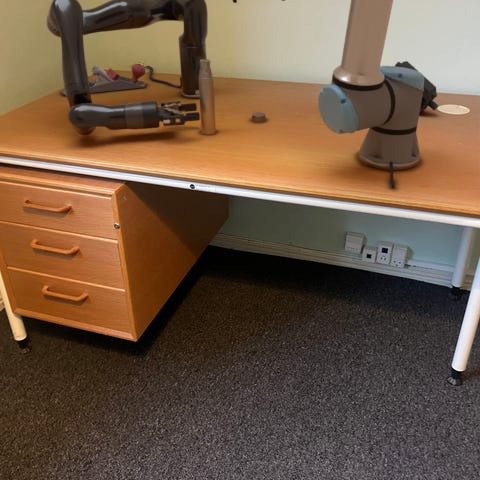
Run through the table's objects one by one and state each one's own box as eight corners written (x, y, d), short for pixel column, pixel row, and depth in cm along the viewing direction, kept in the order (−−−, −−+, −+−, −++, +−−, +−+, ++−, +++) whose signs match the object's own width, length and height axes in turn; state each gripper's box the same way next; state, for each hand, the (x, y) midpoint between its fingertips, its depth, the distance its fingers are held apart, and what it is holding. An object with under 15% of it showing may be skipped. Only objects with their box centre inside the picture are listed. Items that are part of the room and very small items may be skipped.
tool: (376, 92, 179) (403, 55, 168) (419, 129, 175) (449, 94, 164) (367, 96, 175) (394, 59, 164) (411, 135, 171) (441, 99, 160)
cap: (249, 120, 166) (249, 114, 165) (257, 117, 169) (257, 111, 168) (259, 123, 164) (259, 117, 163) (268, 119, 167) (268, 113, 165)
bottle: (210, 128, 161) (206, 57, 150) (218, 132, 158) (215, 60, 147) (198, 131, 159) (194, 60, 148) (207, 135, 156) (203, 62, 145)
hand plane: (62, 90, 197) (53, 48, 189) (145, 82, 205) (140, 41, 197) (62, 96, 191) (54, 53, 184) (148, 87, 199) (143, 45, 191)
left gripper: (140, 110, 144) (200, 106, 146) (139, 95, 156) (194, 91, 158) (143, 136, 148) (201, 132, 150) (142, 120, 160) (196, 116, 162)
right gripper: (302, -90, 142) (299, -3, 153) (209, -88, 138) (212, 1, 150) (309, -90, 135) (305, 1, 147) (212, -88, 132) (216, 5, 143)
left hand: (198, 111), depth 154 cm, fingers open, 8 cm apart
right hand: (258, 1), depth 148 cm, fingers open, 13 cm apart
